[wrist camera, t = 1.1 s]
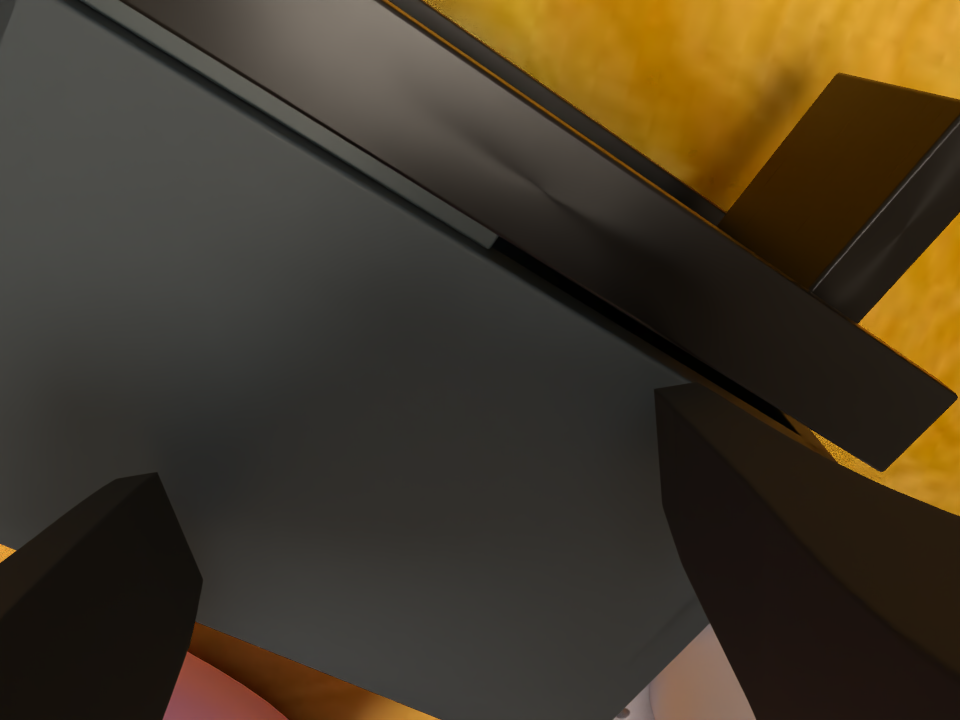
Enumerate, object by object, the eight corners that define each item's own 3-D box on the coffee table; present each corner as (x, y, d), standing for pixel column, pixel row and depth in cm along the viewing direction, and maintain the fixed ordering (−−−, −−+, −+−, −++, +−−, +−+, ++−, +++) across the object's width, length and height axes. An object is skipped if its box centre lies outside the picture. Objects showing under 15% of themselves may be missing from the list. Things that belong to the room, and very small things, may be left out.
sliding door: (849, 105, 18) (1109, 183, 11) (720, 265, 19) (876, 421, 13) (611, -85, 16) (745, -136, 9) (490, 110, 17) (524, 193, 11)
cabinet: (739, 221, 20) (961, 397, 11) (520, 495, 23) (567, 784, 15) (233, -132, 16) (4, -260, 7) (61, 261, 19) (-226, 473, 11)
